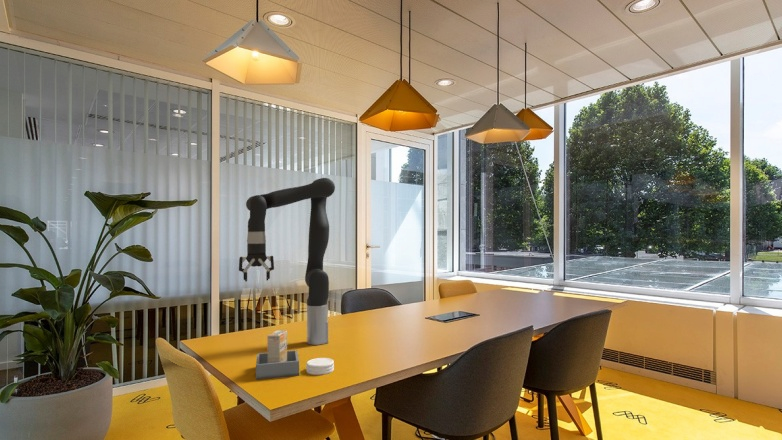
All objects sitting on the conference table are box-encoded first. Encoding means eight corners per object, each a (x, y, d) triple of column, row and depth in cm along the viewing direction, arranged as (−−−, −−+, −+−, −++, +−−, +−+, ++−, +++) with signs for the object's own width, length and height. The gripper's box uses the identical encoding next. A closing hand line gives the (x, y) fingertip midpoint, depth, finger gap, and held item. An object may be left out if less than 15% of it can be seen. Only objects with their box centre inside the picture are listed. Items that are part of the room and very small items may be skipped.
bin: (296, 363, 167) (296, 350, 167) (299, 375, 153) (299, 361, 153) (257, 366, 163) (257, 353, 164) (255, 379, 149) (255, 365, 149)
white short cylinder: (309, 377, 152) (309, 367, 152) (303, 369, 161) (303, 359, 161) (337, 373, 156) (337, 363, 156) (329, 365, 165) (329, 356, 165)
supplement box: (280, 372, 154) (279, 335, 154) (267, 372, 155) (266, 335, 155) (287, 365, 162) (287, 330, 163) (275, 365, 163) (275, 330, 163)
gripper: (273, 241, 190) (274, 279, 189) (239, 242, 186) (239, 280, 186) (273, 242, 182) (274, 281, 182) (238, 243, 179) (238, 282, 178)
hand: (256, 280), depth 184 cm, fingers open, 8 cm apart
